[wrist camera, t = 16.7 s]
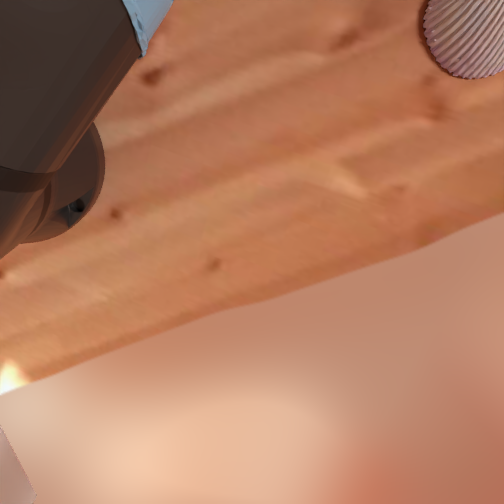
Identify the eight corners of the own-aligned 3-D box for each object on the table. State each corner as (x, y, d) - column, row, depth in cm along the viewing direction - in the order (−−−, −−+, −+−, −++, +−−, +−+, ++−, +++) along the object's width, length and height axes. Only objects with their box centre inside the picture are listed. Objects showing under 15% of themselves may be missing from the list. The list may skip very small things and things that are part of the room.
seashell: (595, -54, 35) (555, 80, 37) (542, -24, 41) (510, 92, 42) (473, -93, 34) (437, 48, 35) (436, -57, 39) (406, 64, 40)
